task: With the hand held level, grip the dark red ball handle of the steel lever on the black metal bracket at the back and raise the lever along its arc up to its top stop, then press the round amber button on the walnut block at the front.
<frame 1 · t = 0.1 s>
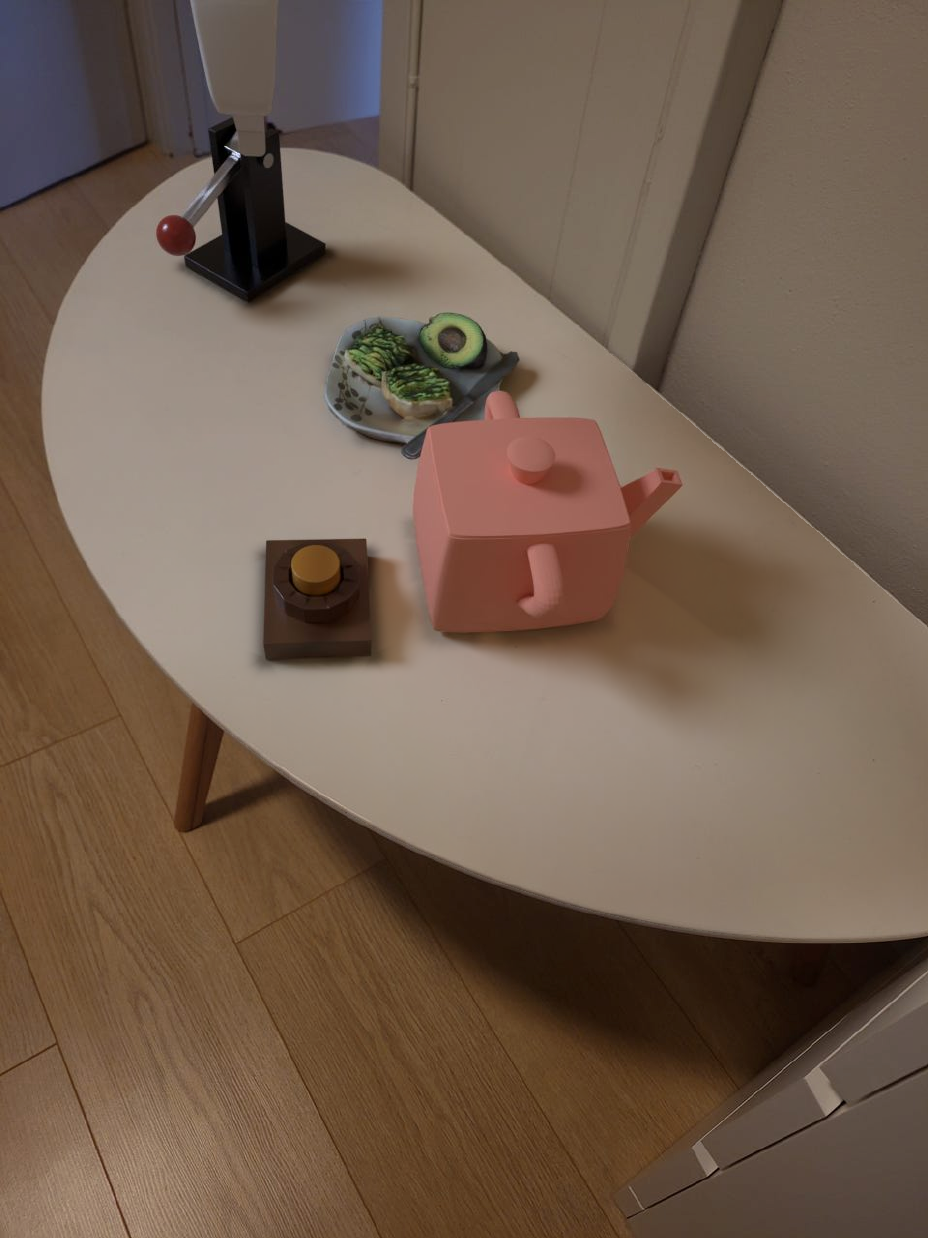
hand: (255, 117, 67), 25 cm above the table, tool pointing down, fingers open, 8 cm apart
bracket: (257, 260, 98), on the table
button block: (318, 605, 72), on the table
plate of avocado toast: (419, 387, 89), on the table
lever: (209, 193, 87), point 10 cm above the table, hinge at -25.0°
button: (316, 570, 69), point 4 cm above the table, slide at 0.1 cm
teapot: (534, 571, 77), on the table
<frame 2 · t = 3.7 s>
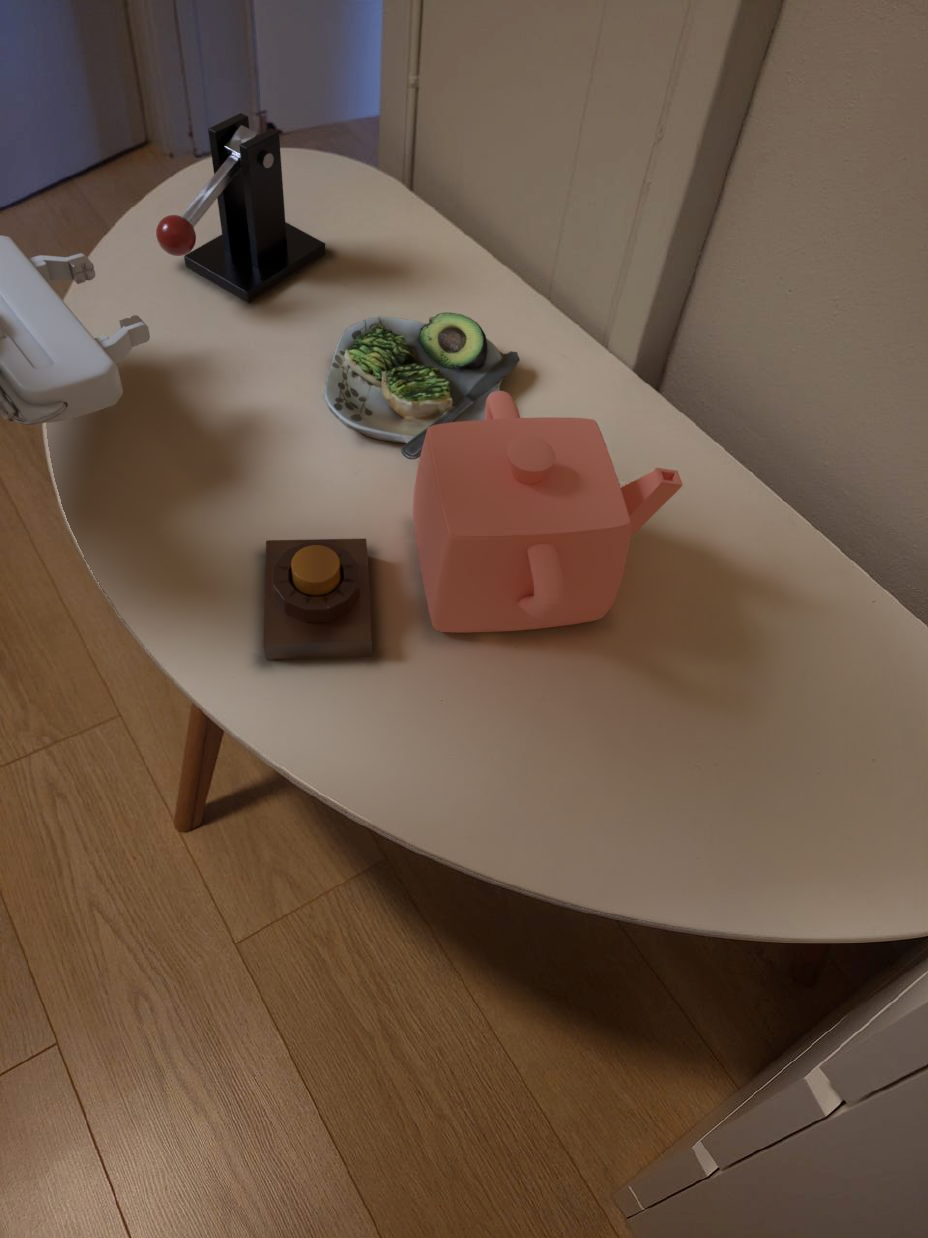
hand: (117, 295, 78), 9 cm above the table, tool horizontal, fingers open, 8 cm apart
nothing on the table moved.
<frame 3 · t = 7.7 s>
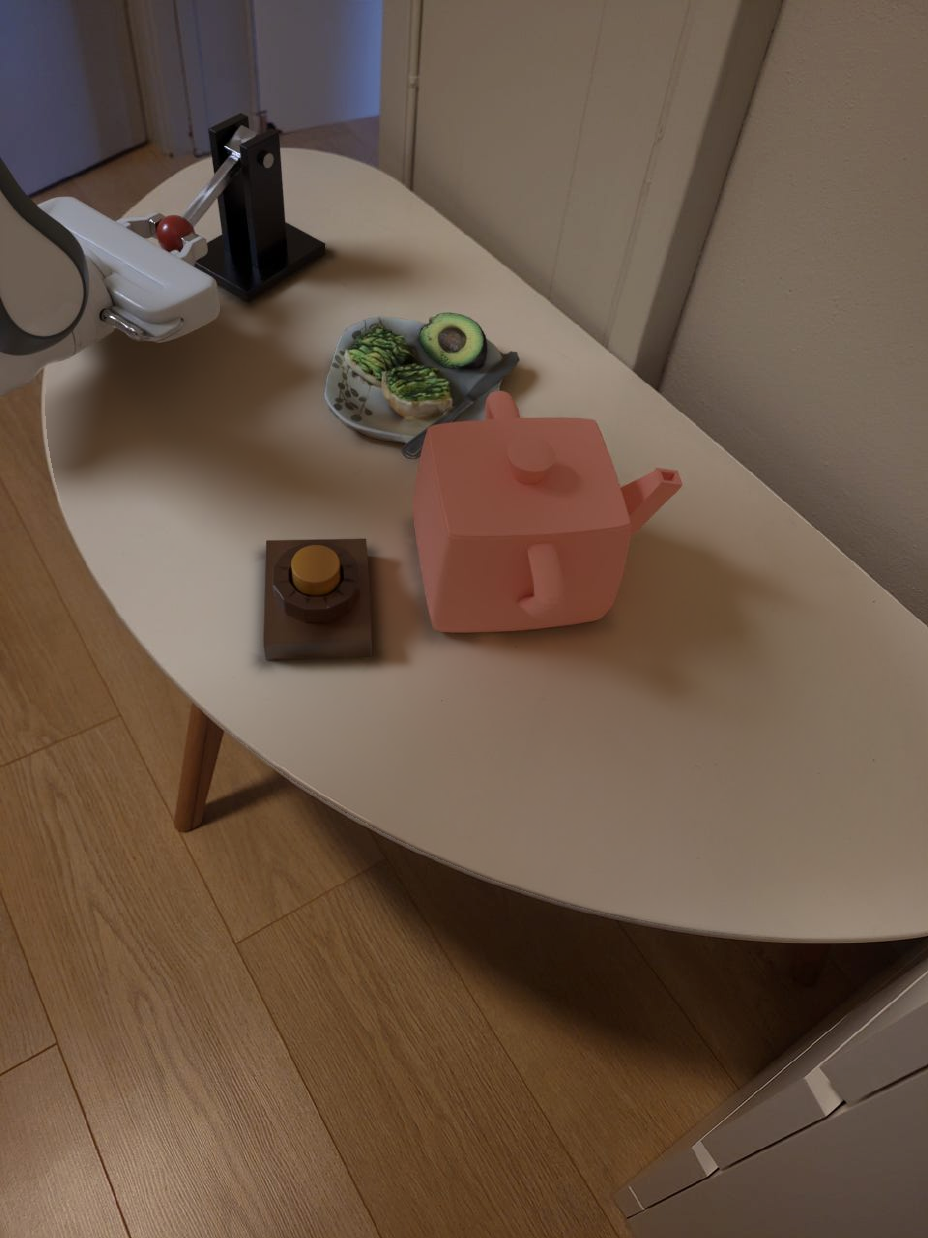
hand: (183, 231, 87), 7 cm above the table, tool horizontal, fingers closed on lever, 3 cm apart
lever: (209, 193, 87), point 10 cm above the table, hinge at -25.0°, touching gripper
everything else where it was.
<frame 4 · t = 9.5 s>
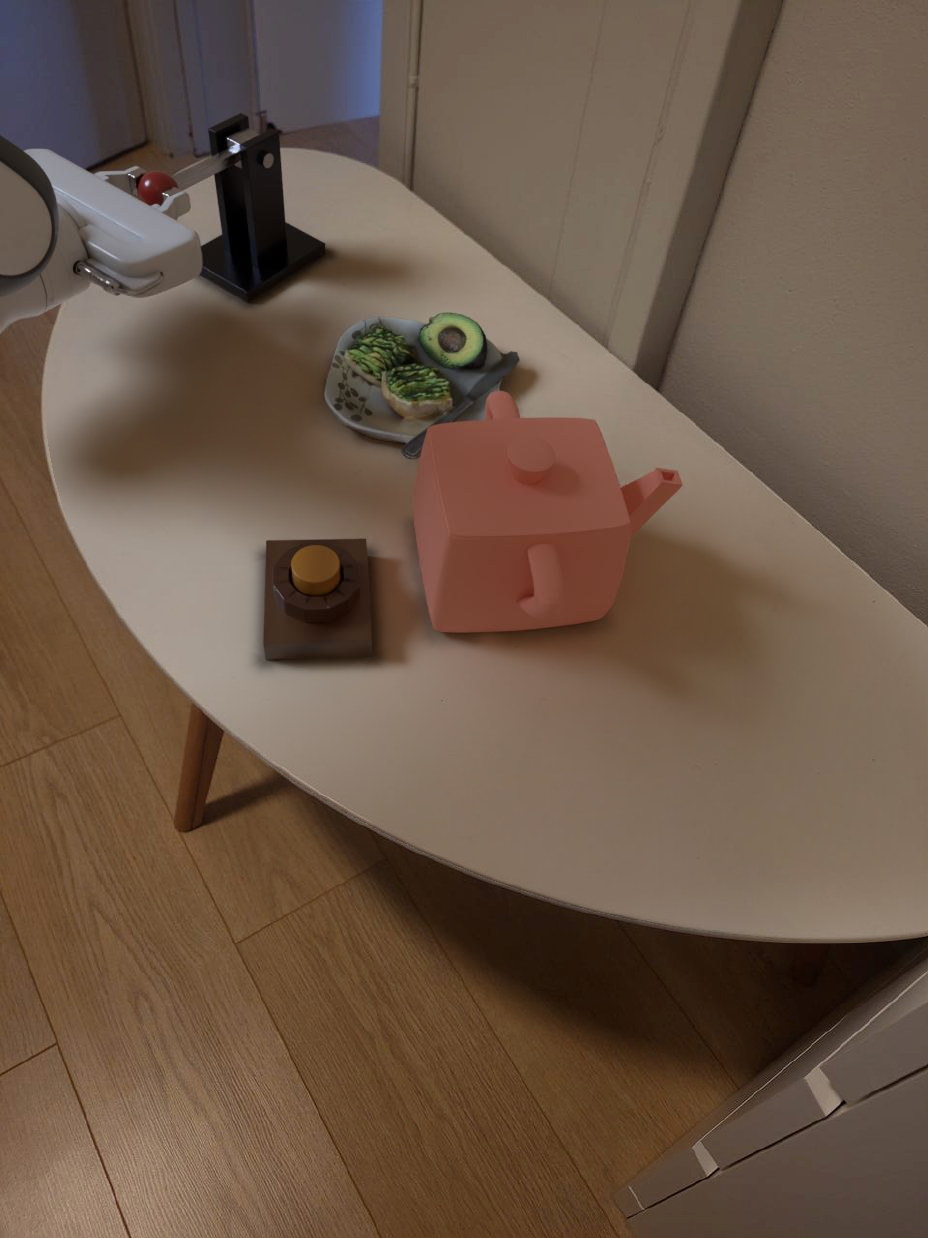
hand: (164, 186, 82), 12 cm above the table, tool horizontal, fingers closed on lever, 3 cm apart
lever: (202, 170, 85), point 12 cm above the table, hinge at 0.4°, touching gripper
everything else where it was.
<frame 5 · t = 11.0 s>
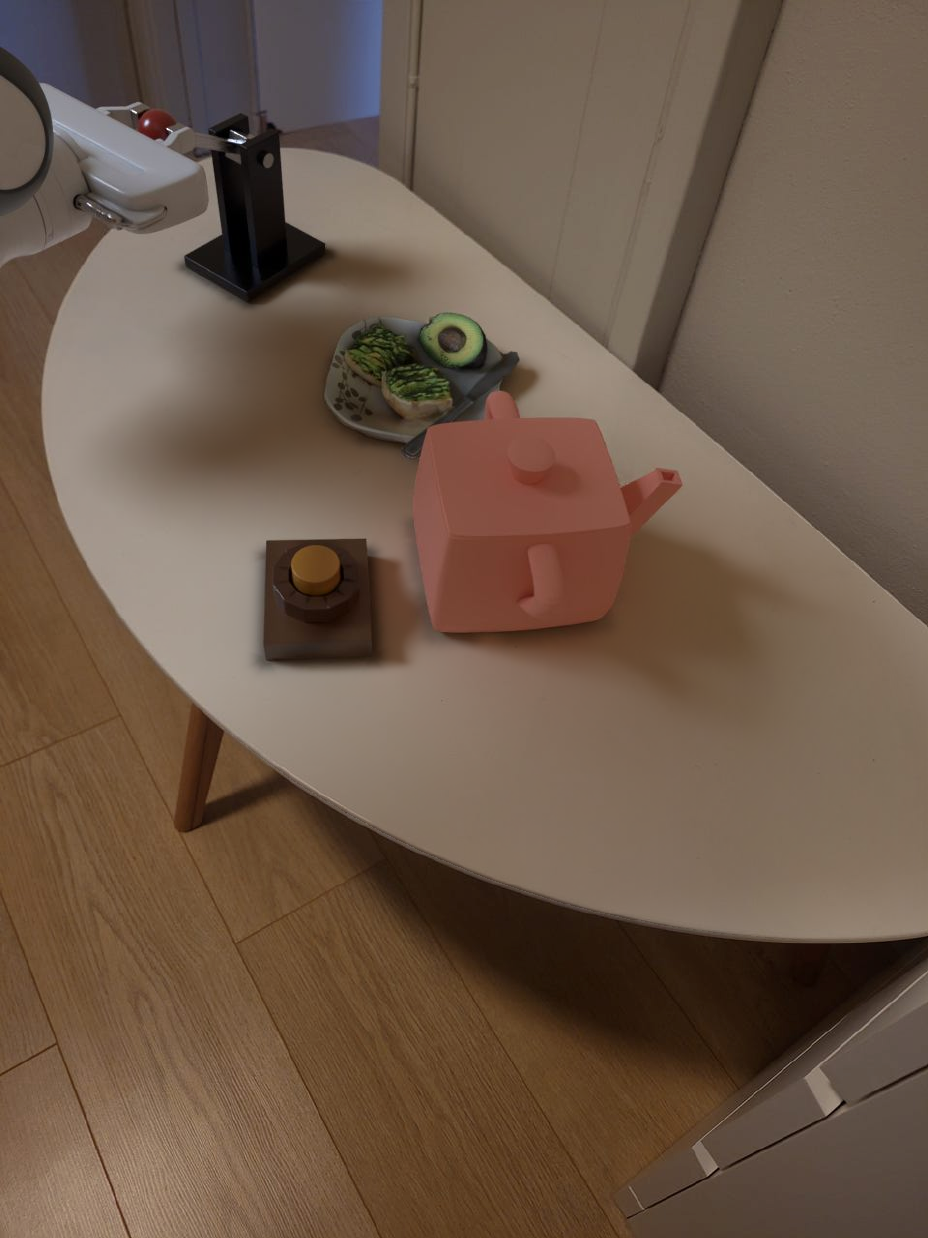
hand: (168, 123, 79), 17 cm above the table, tool horizontal, fingers closed on lever, 3 cm apart
lever: (203, 140, 83), point 15 cm above the table, hinge at 27.0°, touching gripper
everything else where it was.
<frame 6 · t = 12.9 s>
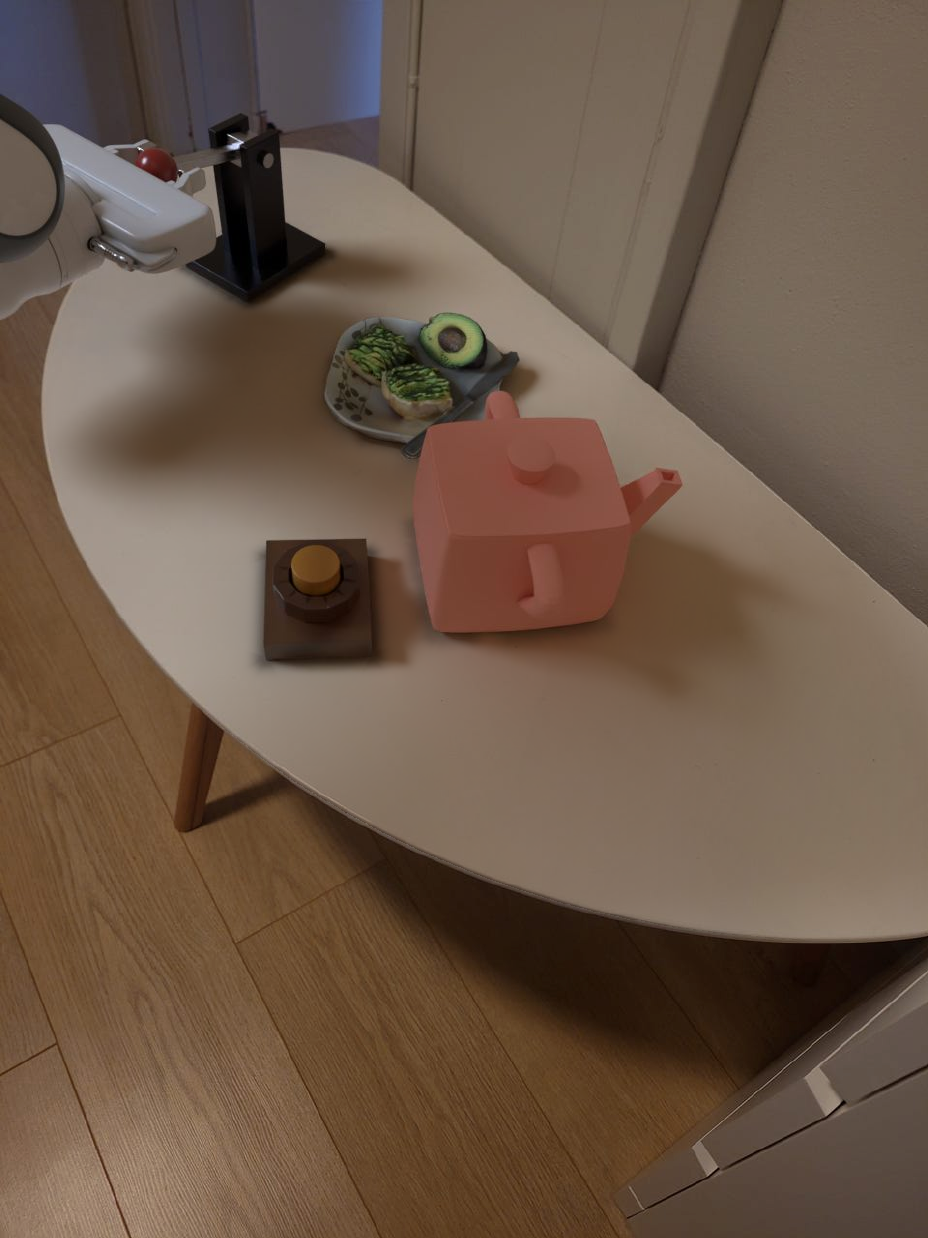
hand: (177, 162, 82), 14 cm above the table, tool horizontal, fingers open, 4 cm apart
lever: (201, 159, 84), point 13 cm above the table, hinge at 10.7°
everything else where it was.
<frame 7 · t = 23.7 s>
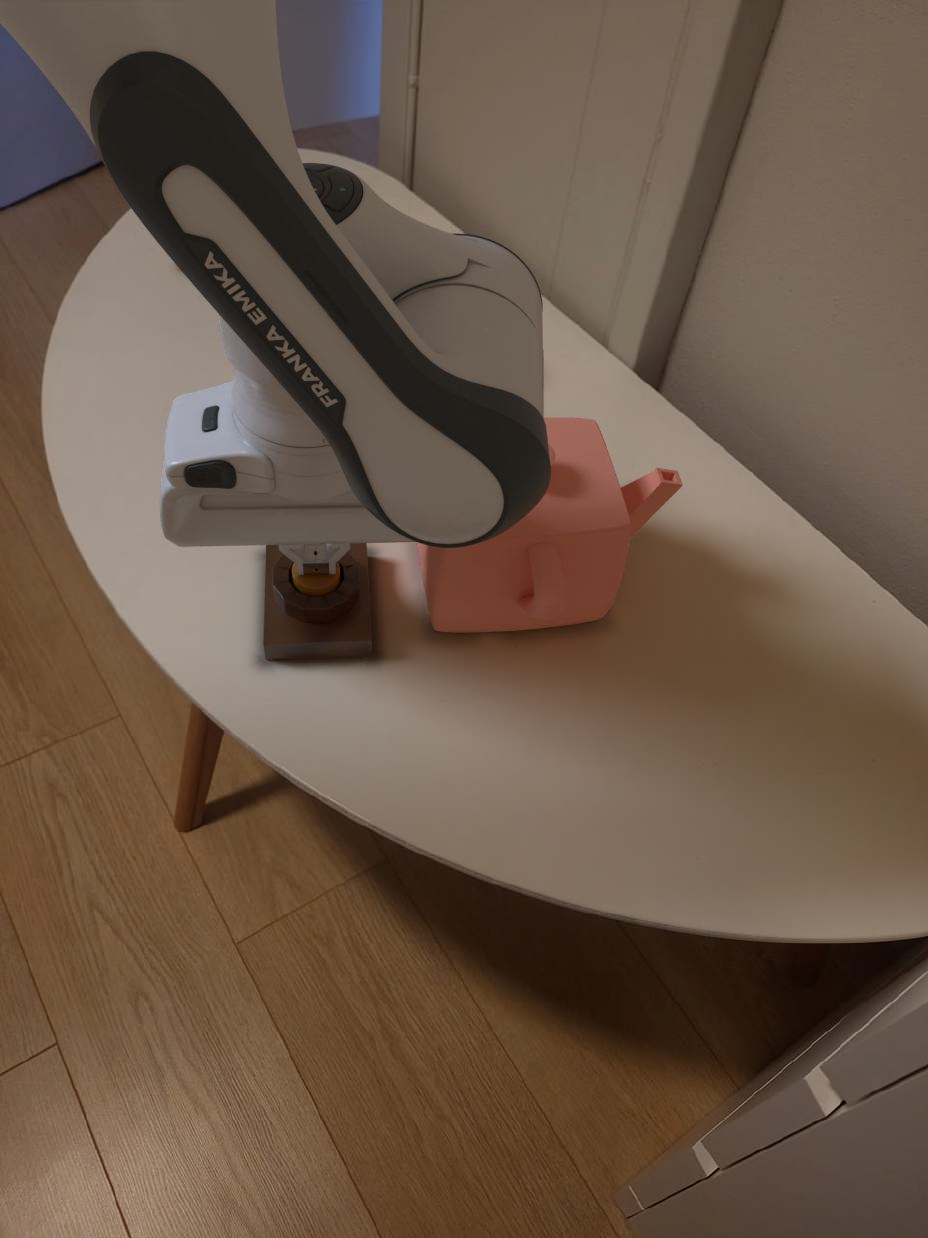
hand: (316, 568, 69), 5 cm above the table, tool pointing down, fingers closed, pressing on button
button: (316, 576, 69), point 4 cm above the table, slide at -0.7 cm, touching gripper
everything else where it was.
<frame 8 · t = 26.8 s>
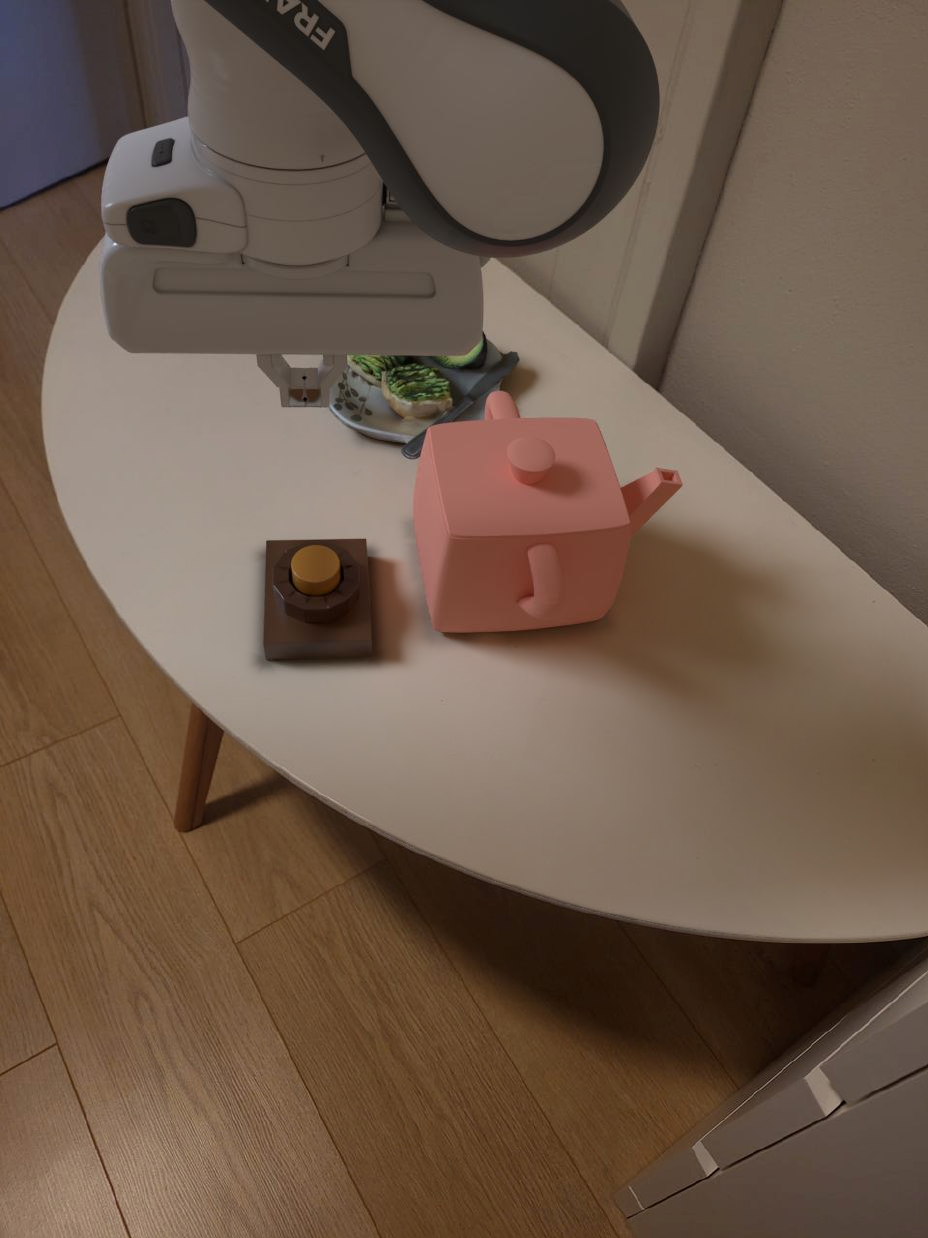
hand: (305, 400, 55), 21 cm above the table, tool pointing down, fingers closed
button: (316, 570, 69), point 4 cm above the table, slide at 0.1 cm
everything else where it was.
at the end: lever reached +27° during the clip, +11° at the end; button pushed in 1.0 cm at the most during the clip, back to where it started at the end; button slide at 0.1 cm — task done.
